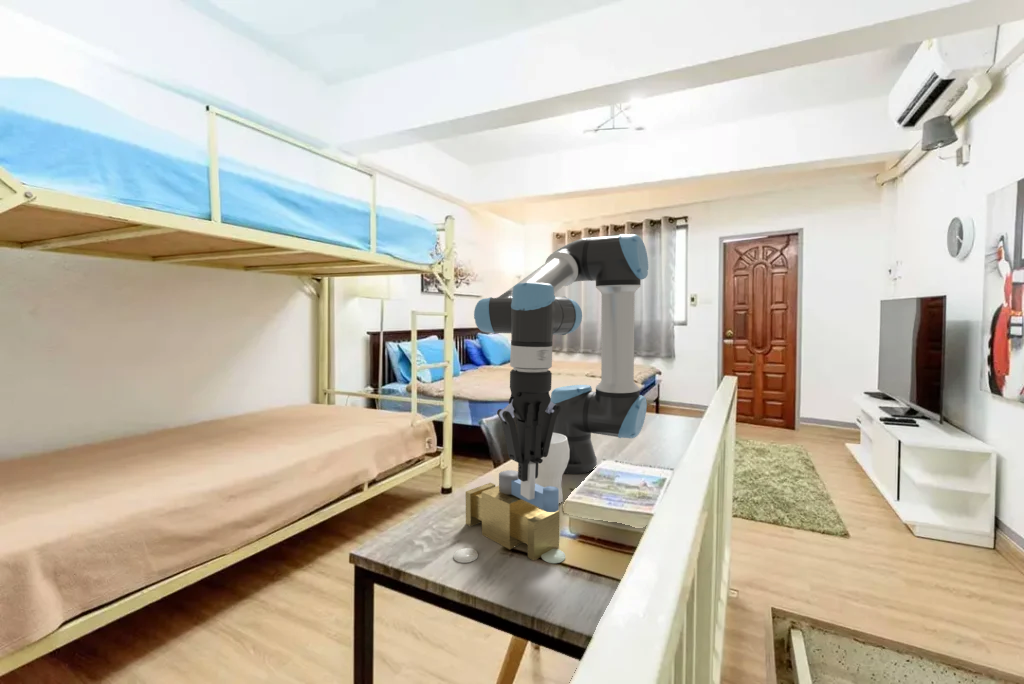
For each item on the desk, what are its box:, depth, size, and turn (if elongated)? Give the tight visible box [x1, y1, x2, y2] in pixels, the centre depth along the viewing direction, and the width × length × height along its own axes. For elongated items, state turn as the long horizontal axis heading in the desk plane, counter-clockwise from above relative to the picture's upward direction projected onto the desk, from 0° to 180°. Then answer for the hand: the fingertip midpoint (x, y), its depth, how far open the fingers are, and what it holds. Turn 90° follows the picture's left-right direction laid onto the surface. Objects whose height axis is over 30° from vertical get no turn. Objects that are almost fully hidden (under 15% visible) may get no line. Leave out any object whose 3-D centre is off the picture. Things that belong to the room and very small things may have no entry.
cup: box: [535, 433, 570, 504], centre depth 106 cm, size 11×11×15 cm
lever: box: [498, 469, 560, 512], centre depth 85 cm, size 15×4×4 cm, turn 41°
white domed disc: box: [453, 547, 479, 564], centre depth 82 cm, size 4×4×1 cm
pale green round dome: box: [540, 548, 566, 564], centre depth 82 cm, size 4×4×1 cm
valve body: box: [465, 482, 560, 562], centre depth 89 cm, size 20×8×9 cm, turn 44°
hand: (527, 496), depth 82 cm, fingers closed
